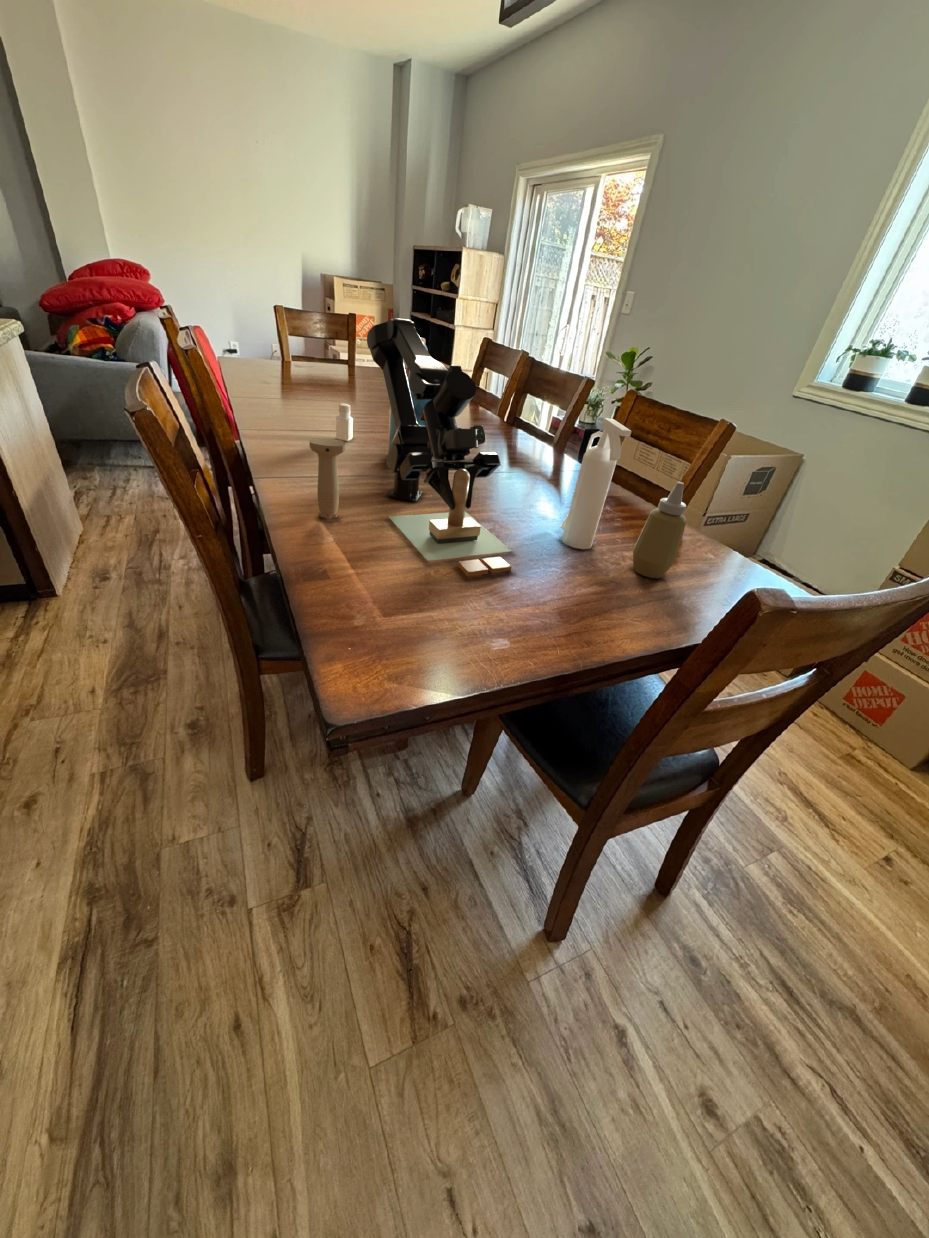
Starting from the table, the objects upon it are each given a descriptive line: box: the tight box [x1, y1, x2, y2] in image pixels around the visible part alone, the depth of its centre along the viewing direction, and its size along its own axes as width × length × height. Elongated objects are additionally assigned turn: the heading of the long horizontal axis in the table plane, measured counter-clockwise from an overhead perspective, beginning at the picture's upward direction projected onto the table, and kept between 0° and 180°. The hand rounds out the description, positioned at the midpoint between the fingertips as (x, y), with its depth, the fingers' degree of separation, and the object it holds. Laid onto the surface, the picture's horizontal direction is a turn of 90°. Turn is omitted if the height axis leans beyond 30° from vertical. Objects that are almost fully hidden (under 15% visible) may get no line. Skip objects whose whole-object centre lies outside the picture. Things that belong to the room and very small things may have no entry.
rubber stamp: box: [429, 469, 481, 544], centre depth 96 cm, size 9×4×14 cm, turn 117°
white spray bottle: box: [559, 417, 632, 550], centre depth 102 cm, size 7×12×25 cm, turn 16°
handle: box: [309, 437, 347, 520], centre depth 97 cm, size 5×6×15 cm
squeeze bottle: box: [632, 481, 687, 579], centre depth 96 cm, size 8×8×18 cm
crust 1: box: [457, 558, 489, 577], centre depth 90 cm, size 4×4×2 cm
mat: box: [387, 511, 513, 562], centre depth 102 cm, size 20×18×1 cm
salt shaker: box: [335, 403, 354, 442], centre depth 147 cm, size 4×4×10 cm
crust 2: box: [480, 556, 512, 574], centre depth 92 cm, size 4×4×2 cm
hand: (461, 508), depth 95 cm, fingers closed on rubber stamp, 3 cm apart
